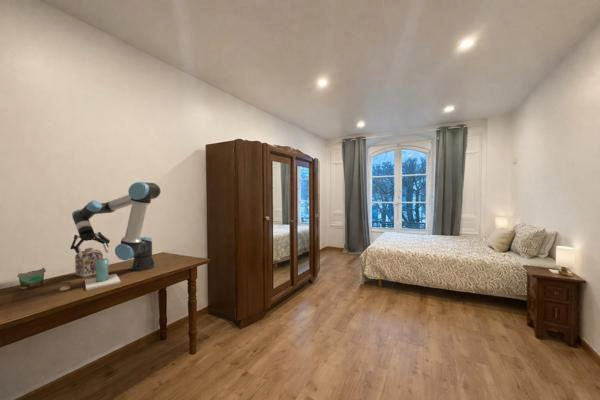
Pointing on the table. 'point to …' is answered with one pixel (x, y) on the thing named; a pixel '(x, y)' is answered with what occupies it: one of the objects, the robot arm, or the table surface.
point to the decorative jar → (87, 262)
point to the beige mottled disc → (64, 288)
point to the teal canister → (102, 270)
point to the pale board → (93, 284)
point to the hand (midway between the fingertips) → (94, 253)
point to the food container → (31, 279)
